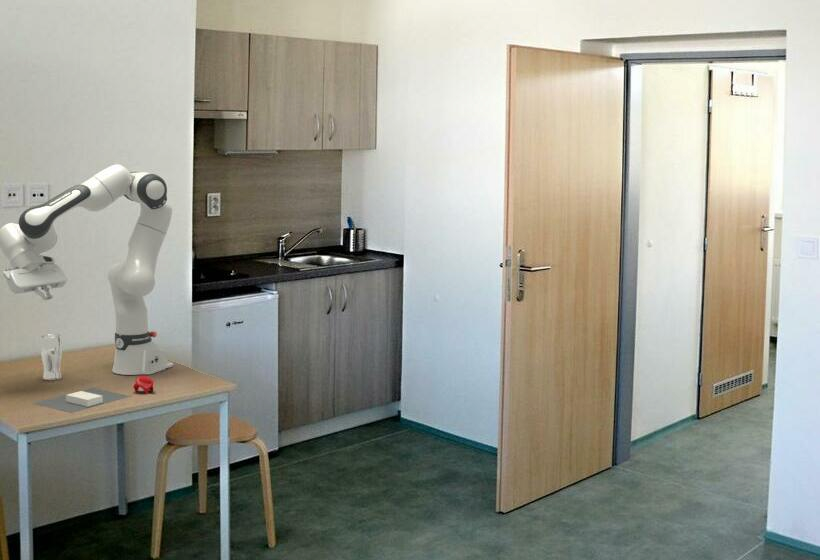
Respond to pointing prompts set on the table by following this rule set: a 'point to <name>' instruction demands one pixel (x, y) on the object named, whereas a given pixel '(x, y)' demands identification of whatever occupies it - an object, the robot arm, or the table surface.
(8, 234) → the robot arm
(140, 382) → the red rounded piece
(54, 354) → the beer glass
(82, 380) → the table surface
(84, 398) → the tile
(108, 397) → the mat
